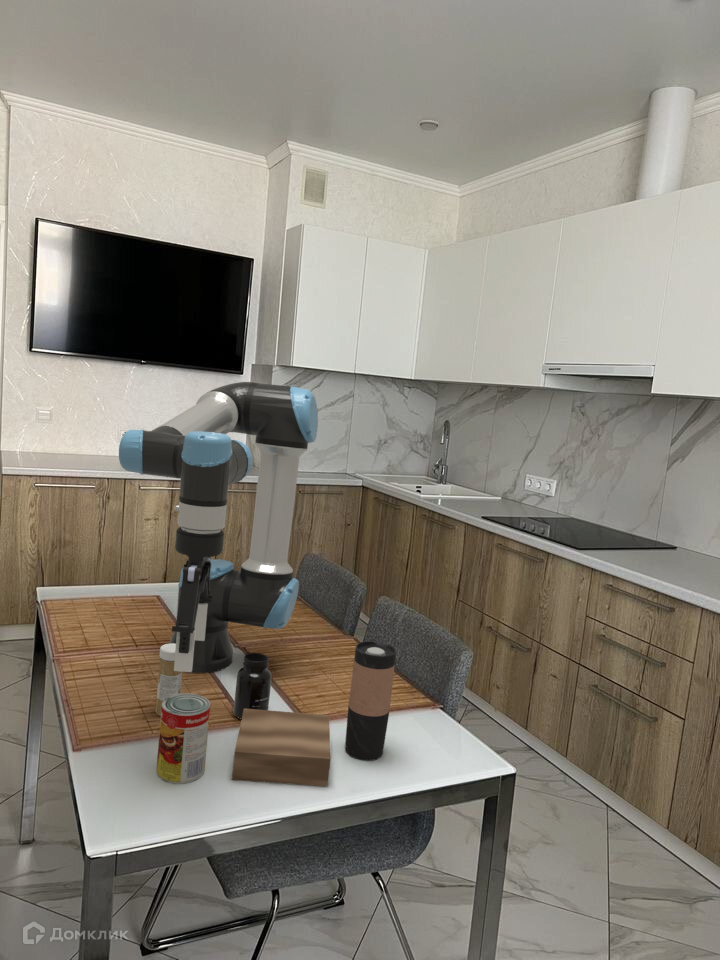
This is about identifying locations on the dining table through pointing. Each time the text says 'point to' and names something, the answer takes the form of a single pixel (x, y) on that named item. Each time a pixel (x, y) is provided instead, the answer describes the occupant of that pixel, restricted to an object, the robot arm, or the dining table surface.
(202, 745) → the canned food
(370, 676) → the travel mug
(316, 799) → the dining table surface
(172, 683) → the sprinkles bottle
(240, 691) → the supplement bottle
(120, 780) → the dining table surface
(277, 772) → the walnut riser
